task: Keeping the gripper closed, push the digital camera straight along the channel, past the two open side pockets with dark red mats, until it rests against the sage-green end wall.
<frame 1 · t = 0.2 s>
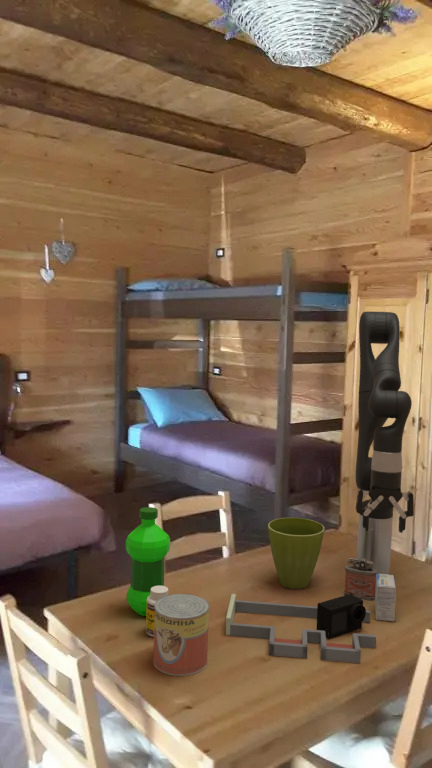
hand: (383, 530, 168), 17 cm above the table, tool pointing down, fingers open, 8 cm apart
flower pot: (293, 584, 176), on the table
digital camera: (340, 632, 150), on the table
canned food: (180, 661, 135), on the table
channel: (301, 627, 151), on the table
lighter: (359, 597, 169), on the table
medicine box: (384, 614, 159), on the table
plastic bottle: (146, 611, 157), on the table
supplement bottle: (158, 633, 147), on the table
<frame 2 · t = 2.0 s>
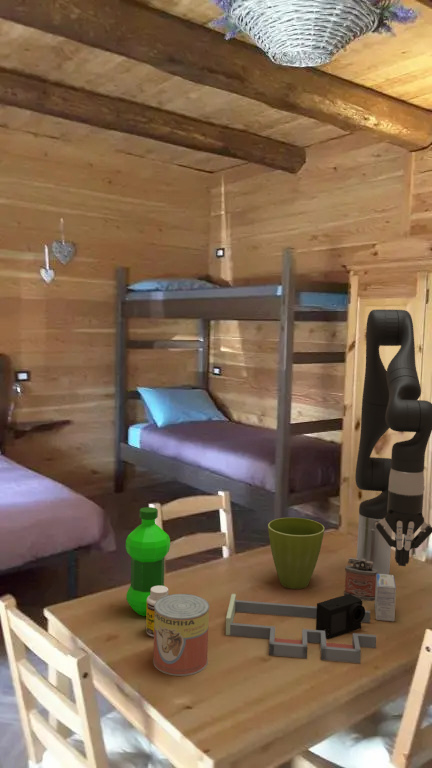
hand: (401, 564, 146), 17 cm above the table, tool pointing down, fingers closed
nothing on the table moved.
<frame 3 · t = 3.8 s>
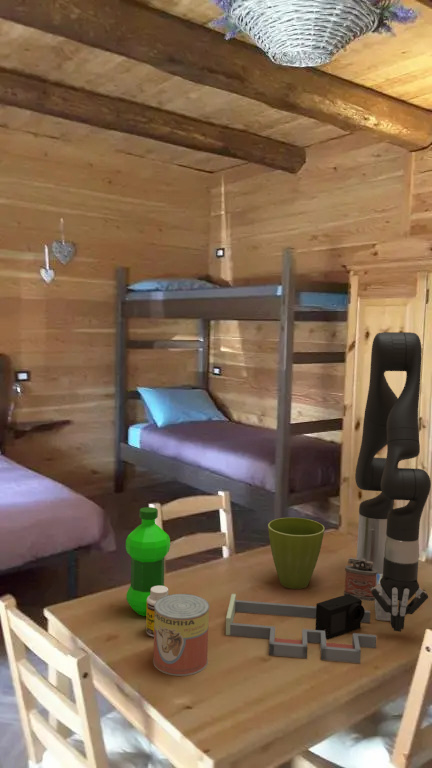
hand: (396, 629, 148), 2 cm above the table, tool pointing down, fingers closed
nothing on the table moved.
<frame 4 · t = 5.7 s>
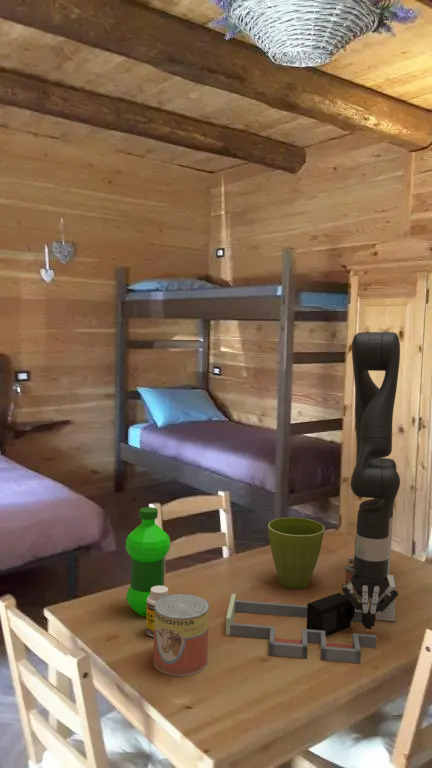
hand: (367, 627, 149), 2 cm above the table, tool pointing down, fingers closed
digital camera: (330, 631, 150), on the table, touching hand
everything else where it was.
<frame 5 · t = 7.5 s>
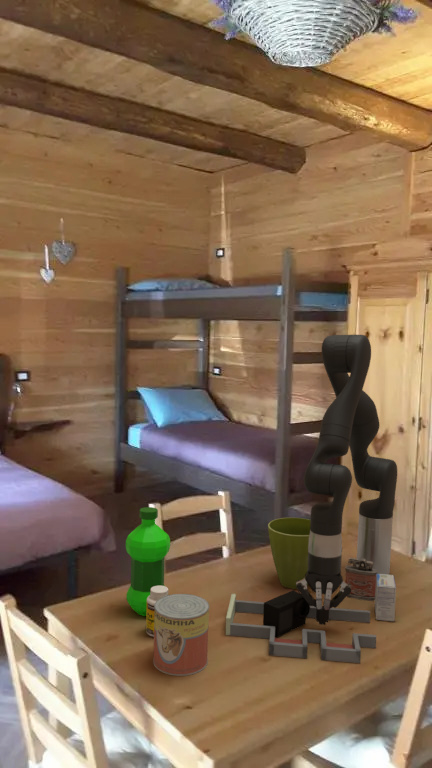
hand: (321, 623, 150), 2 cm above the table, tool pointing down, fingers closed
digital camera: (286, 629, 150), on the table, touching channel, hand
everything else where it was.
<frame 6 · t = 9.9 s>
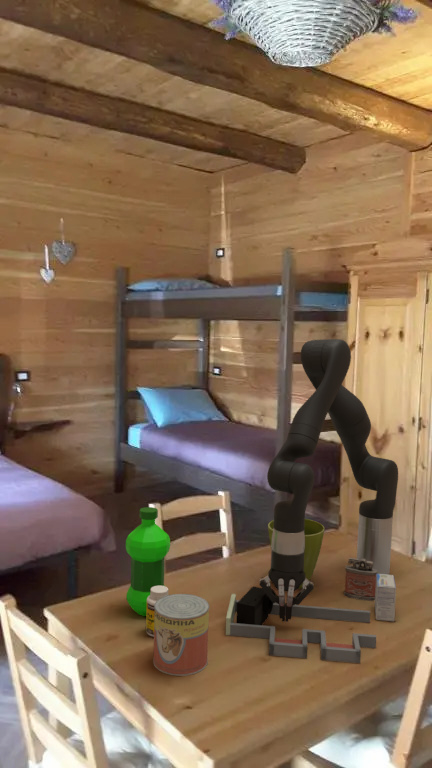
hand: (285, 620, 151), 2 cm above the table, tool pointing down, fingers closed
digital camera: (255, 625, 152), on the table
everything else where it was.
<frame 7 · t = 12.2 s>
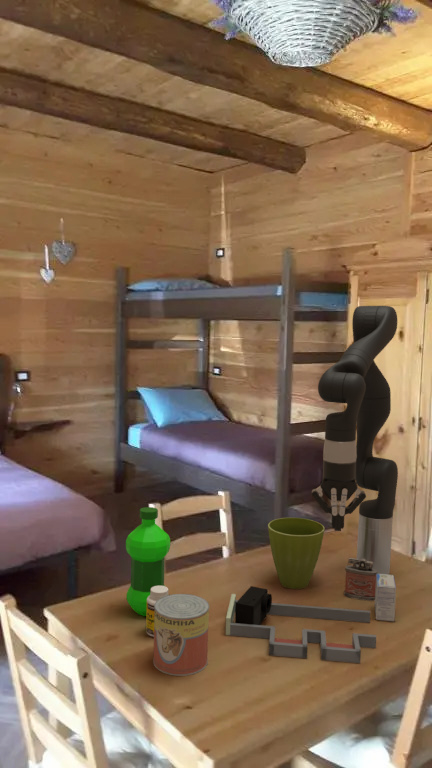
hand: (337, 529, 154), 22 cm above the table, tool pointing down, fingers closed
nothing on the table moved.
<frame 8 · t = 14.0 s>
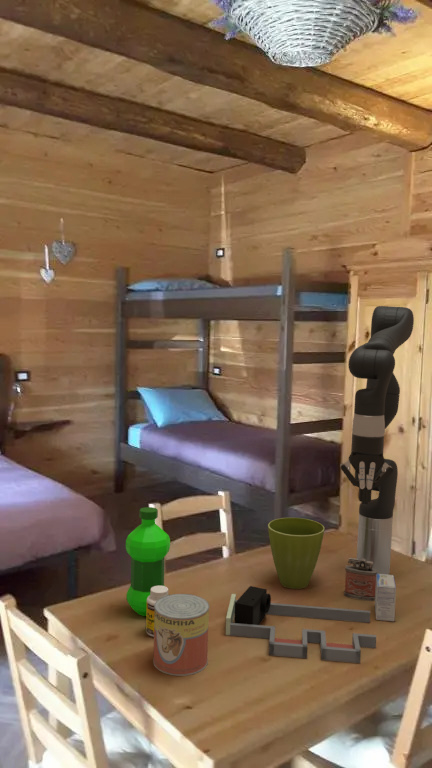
hand: (364, 503, 158), 27 cm above the table, tool pointing down, fingers closed
nothing on the table moved.
at the end: digital camera inside the target area (1.1 cm from its centre), on the table; digital camera tilted 0°; digital camera moved 20.3 cm from its start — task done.
